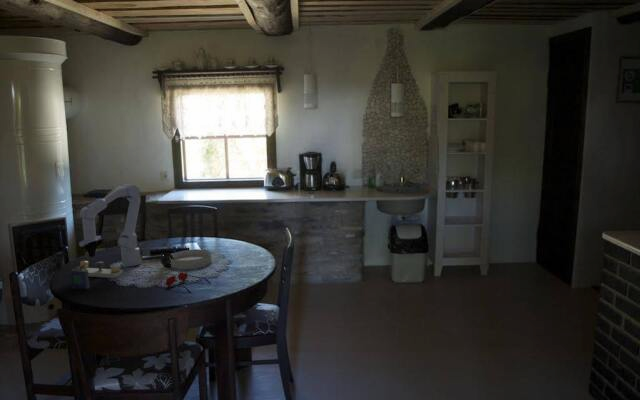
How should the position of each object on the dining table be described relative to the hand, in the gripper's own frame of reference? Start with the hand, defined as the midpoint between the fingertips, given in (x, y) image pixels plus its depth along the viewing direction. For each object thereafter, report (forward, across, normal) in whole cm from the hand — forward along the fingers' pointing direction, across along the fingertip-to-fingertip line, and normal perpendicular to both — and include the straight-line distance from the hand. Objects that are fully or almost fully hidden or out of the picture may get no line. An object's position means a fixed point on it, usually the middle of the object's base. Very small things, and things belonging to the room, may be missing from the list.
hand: (92, 256), depth 258 cm
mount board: (+10, 0, -4) cm, 10 cm away
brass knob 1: (+7, 0, +5) cm, 9 cm away
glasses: (+10, -8, -58) cm, 59 cm away
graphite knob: (+7, 0, -4) cm, 8 cm away
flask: (+10, -20, -8) cm, 23 cm away
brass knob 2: (+9, 0, -13) cm, 16 cm away
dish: (+10, +26, -41) cm, 50 cm away
